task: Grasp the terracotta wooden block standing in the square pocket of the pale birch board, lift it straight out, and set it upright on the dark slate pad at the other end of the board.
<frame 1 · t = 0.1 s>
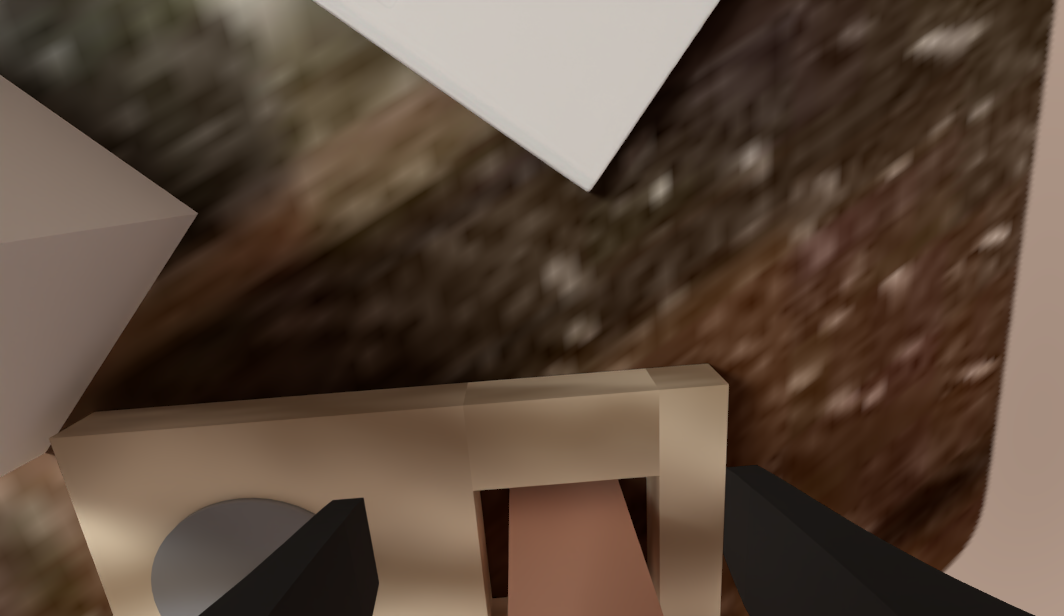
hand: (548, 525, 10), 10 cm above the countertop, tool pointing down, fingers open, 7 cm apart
terracotta block: (565, 524, 22), resting in pocket board
pocket board: (426, 537, 22), on the countertop
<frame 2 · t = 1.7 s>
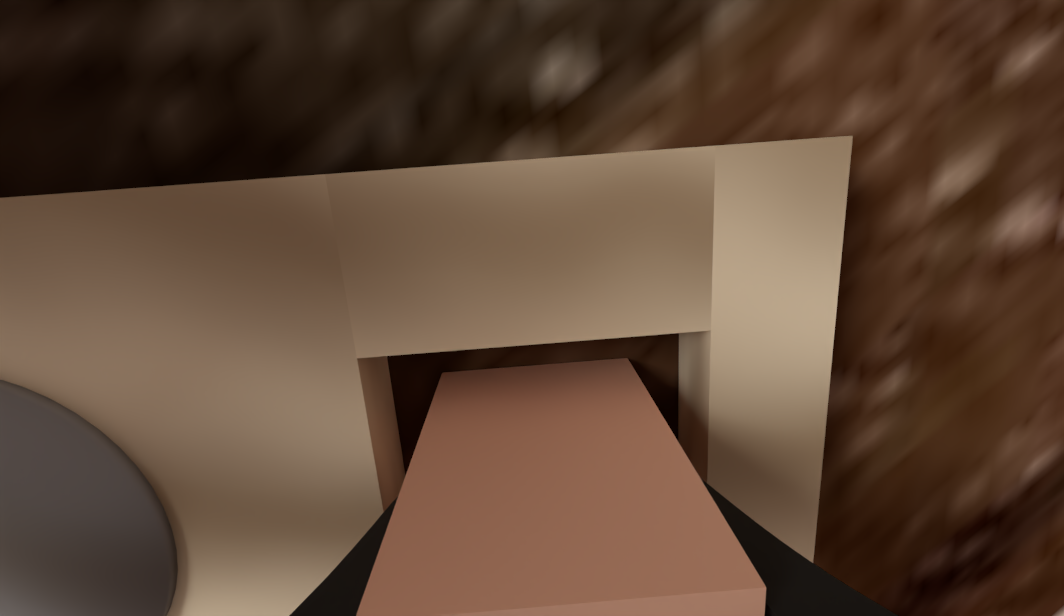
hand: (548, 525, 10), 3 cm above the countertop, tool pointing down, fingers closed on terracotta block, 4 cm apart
terracotta block: (541, 447, 13), resting in pocket board, touching gripper
pocket board: (303, 467, 13), on the countertop
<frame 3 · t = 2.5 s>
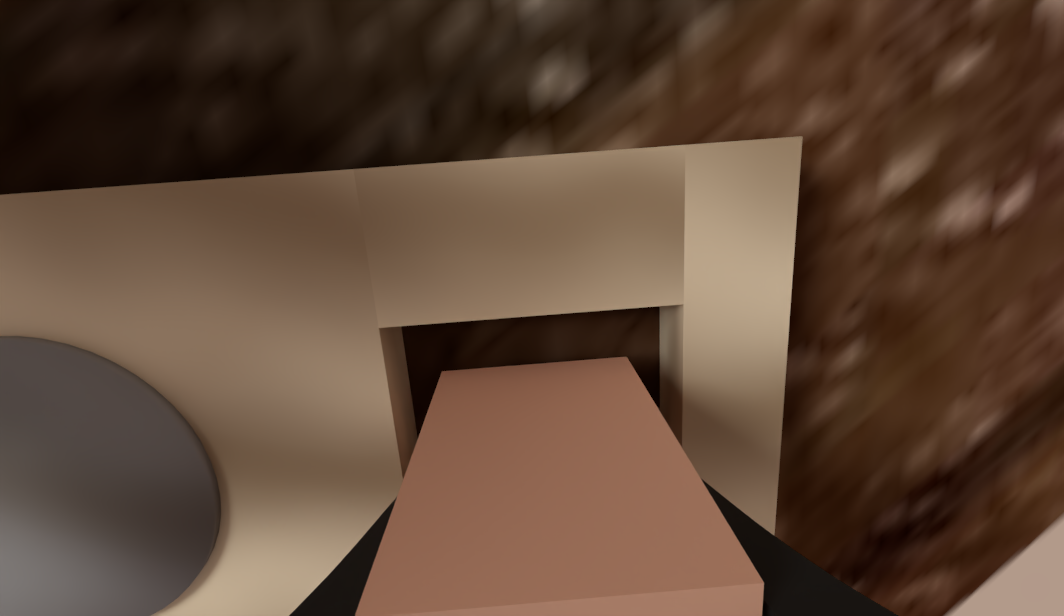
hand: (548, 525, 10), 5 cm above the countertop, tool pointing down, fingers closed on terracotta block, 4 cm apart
terracotta block: (540, 446, 13), point 2 cm above the countertop, touching gripper
pocket board: (327, 430, 14), on the countertop
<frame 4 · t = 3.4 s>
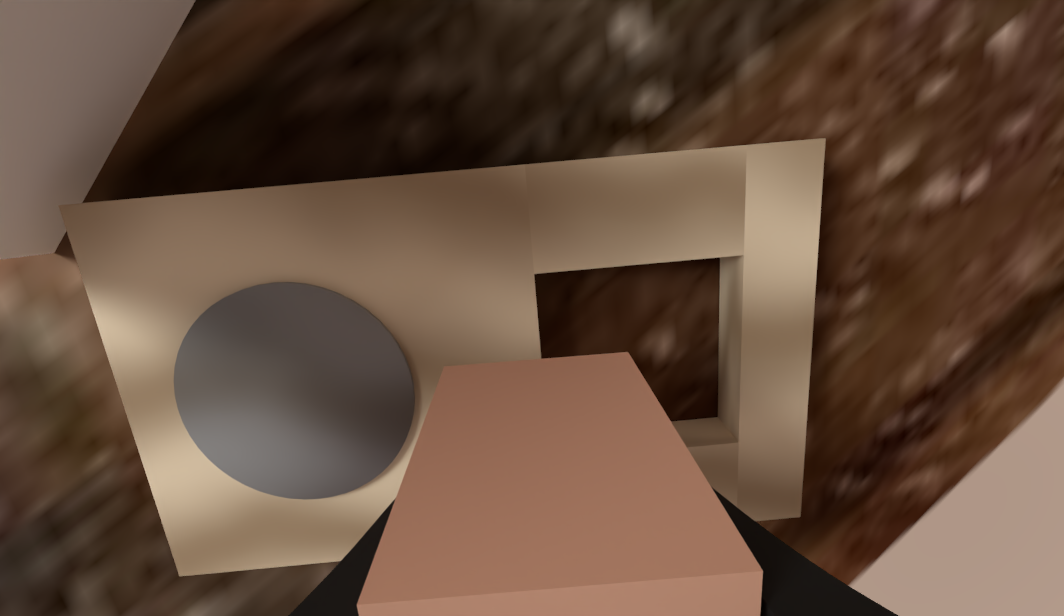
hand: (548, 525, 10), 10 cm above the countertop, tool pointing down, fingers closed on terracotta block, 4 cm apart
terracotta block: (542, 441, 13), point 7 cm above the countertop, touching gripper
pocket board: (475, 358, 20), on the countertop
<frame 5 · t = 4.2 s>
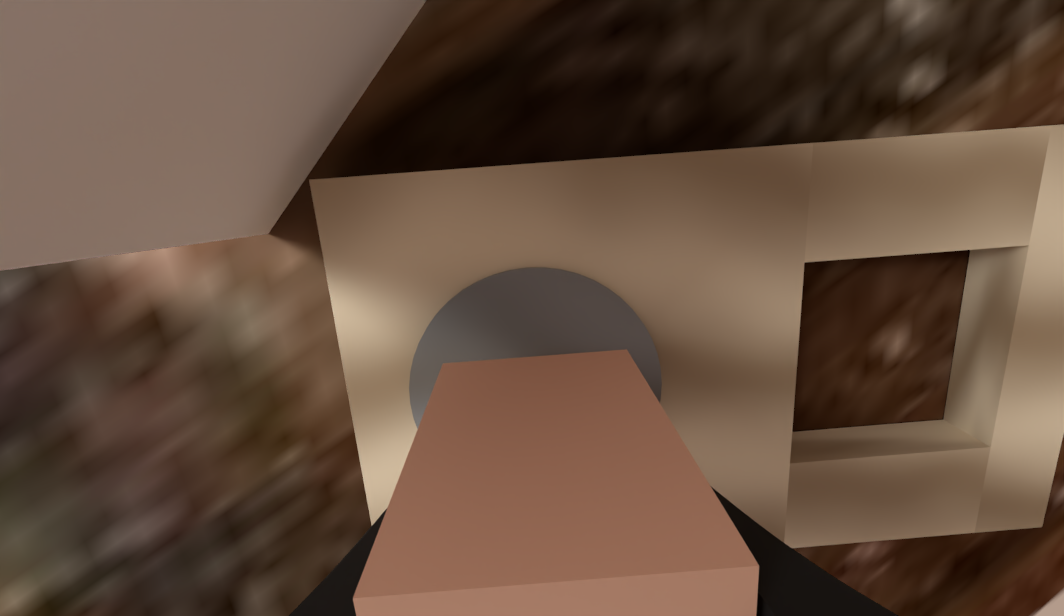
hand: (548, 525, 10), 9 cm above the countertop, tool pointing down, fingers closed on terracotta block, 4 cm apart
terracotta block: (541, 438, 13), point 5 cm above the countertop, touching gripper
pocket board: (698, 353, 18), on the countertop
when the fingers open (6 cm above the countertop, at t = 5.0 s): terracotta block stays where it is, resting on pocket board.
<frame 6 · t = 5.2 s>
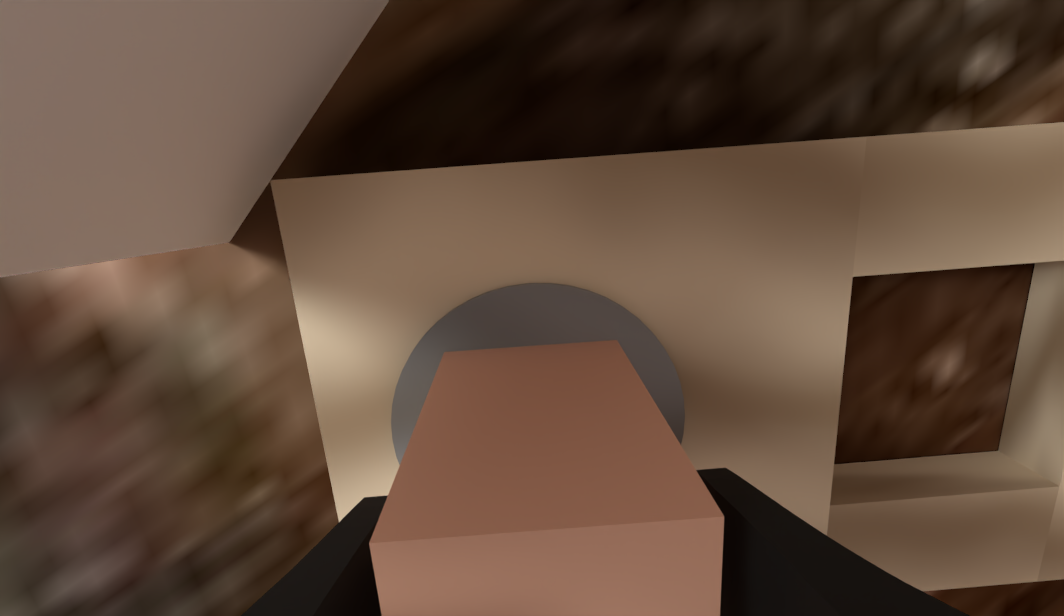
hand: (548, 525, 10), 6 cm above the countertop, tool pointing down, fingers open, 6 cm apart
terracotta block: (536, 424, 14), point 2 cm above the countertop, touching pocket board
pocket board: (723, 377, 16), on the countertop
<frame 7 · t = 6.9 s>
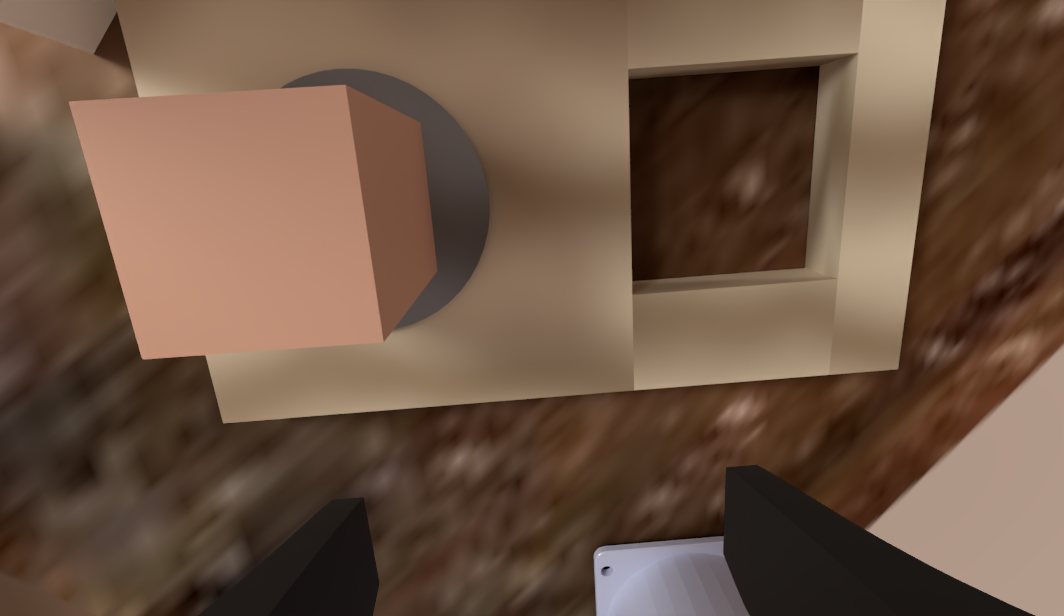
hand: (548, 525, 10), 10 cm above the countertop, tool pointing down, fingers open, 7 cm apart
terracotta block: (356, 204, 16), point 2 cm above the countertop, touching pocket board
pocket board: (548, 191, 18), on the countertop
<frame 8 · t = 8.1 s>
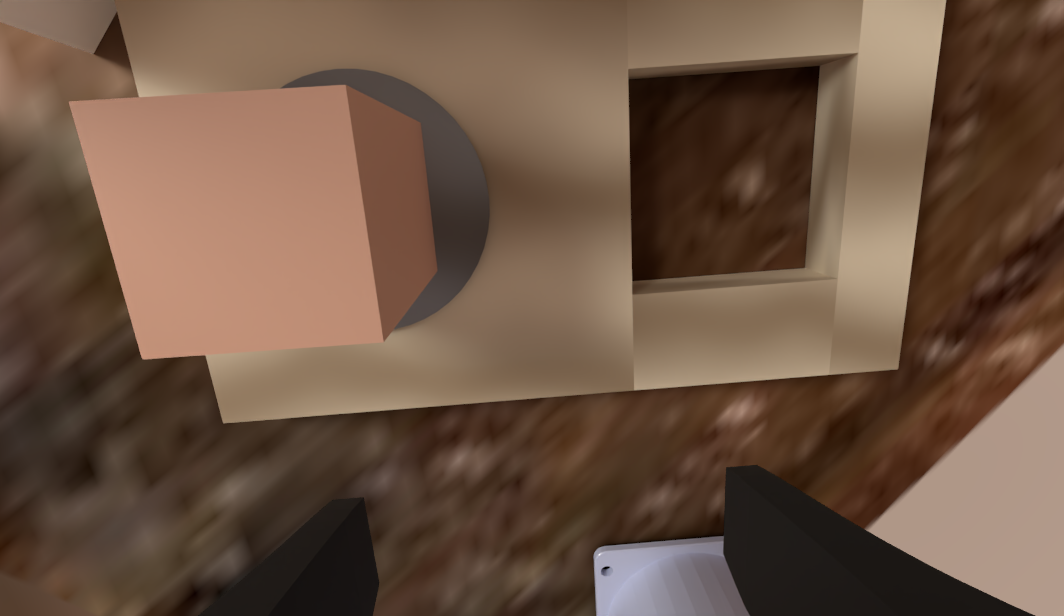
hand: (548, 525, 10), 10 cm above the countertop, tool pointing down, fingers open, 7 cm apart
terracotta block: (356, 204, 16), point 2 cm above the countertop, touching pocket board
pocket board: (548, 191, 18), on the countertop
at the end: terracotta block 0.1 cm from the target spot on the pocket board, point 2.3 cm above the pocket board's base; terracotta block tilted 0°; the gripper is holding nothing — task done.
